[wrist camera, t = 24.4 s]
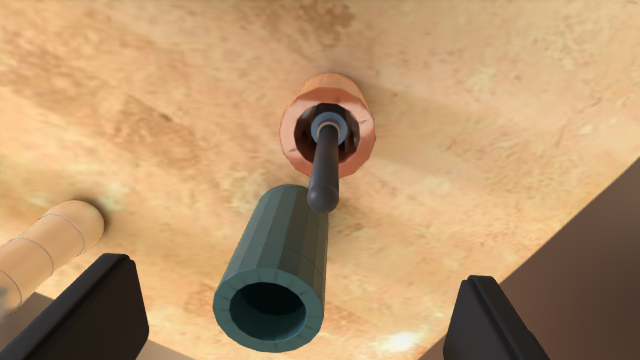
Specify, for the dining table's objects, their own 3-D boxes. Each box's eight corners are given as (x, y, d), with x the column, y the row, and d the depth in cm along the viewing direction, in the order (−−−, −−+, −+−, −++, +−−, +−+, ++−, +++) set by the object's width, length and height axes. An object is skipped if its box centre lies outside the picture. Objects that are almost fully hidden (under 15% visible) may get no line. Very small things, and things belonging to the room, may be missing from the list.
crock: (295, 70, 35) (278, 84, 25) (369, 74, 35) (381, 90, 25) (294, 140, 38) (278, 177, 28) (361, 144, 38) (370, 182, 28)
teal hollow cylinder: (254, 182, 41) (207, 264, 26) (330, 186, 41) (326, 272, 26) (256, 245, 44) (216, 348, 30) (326, 250, 44) (321, 356, 29)
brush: (316, 95, 36) (289, 172, 16) (346, 97, 36) (358, 176, 15) (315, 124, 37) (288, 231, 17) (344, 126, 37) (352, 235, 17)
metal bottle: (111, 200, 43) (-59, 324, 24) (112, 243, 45) (-41, 384, 27) (60, 188, 42) (-151, 305, 24) (64, 232, 45) (-124, 368, 27)
